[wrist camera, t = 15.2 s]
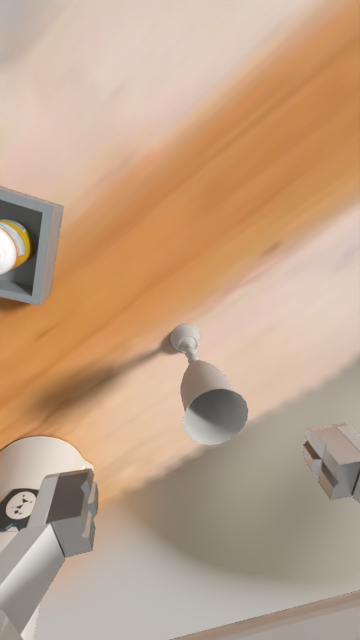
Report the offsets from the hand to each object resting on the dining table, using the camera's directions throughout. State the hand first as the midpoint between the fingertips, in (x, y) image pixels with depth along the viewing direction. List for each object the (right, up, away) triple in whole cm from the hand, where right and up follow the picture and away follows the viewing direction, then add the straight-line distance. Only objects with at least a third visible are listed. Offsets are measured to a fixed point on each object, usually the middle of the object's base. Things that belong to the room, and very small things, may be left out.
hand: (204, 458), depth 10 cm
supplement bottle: (-22, +15, +23) cm, 35 cm away
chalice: (0, +2, +33) cm, 34 cm away
